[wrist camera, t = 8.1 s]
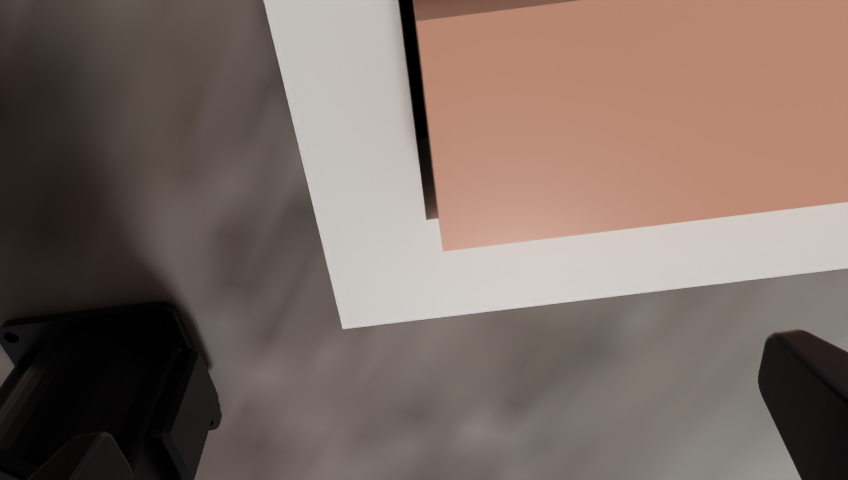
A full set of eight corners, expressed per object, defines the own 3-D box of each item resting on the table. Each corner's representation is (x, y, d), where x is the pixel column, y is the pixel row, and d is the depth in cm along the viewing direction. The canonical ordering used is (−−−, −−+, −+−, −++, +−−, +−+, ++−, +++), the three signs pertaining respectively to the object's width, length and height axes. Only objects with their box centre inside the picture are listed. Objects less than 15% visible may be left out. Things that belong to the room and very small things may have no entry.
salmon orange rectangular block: (431, 170, 17) (442, 251, 14) (409, -22, 14) (416, 21, 11) (869, 115, 17) (987, 184, 14) (929, -89, 14) (1096, -66, 11)
